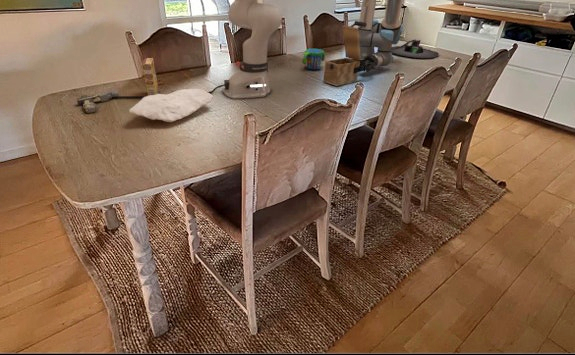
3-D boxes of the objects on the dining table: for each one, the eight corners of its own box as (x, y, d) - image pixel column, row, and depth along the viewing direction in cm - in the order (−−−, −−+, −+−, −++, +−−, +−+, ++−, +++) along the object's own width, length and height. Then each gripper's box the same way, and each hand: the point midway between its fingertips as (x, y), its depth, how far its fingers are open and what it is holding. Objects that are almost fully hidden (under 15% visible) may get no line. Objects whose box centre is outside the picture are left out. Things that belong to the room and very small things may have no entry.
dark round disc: (449, 54, 250) (452, 40, 246) (416, 60, 233) (418, 45, 228) (408, 47, 275) (410, 34, 270) (376, 52, 257) (377, 38, 253)
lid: (356, 29, 177) (368, 20, 180) (342, 26, 183) (354, 17, 186) (359, 60, 189) (370, 52, 192) (345, 56, 194) (356, 48, 198)
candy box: (157, 97, 164) (152, 63, 155) (147, 98, 163) (141, 63, 155) (158, 91, 171) (153, 57, 163) (149, 91, 170) (143, 58, 162)
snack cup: (318, 64, 219) (319, 47, 214) (329, 69, 212) (331, 51, 206) (297, 67, 212) (297, 49, 206) (307, 72, 204) (308, 54, 199)
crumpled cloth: (117, 110, 146) (113, 90, 140) (195, 92, 166) (194, 73, 160) (143, 139, 134) (140, 118, 128) (223, 116, 154) (224, 96, 148)
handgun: (128, 97, 156) (111, 87, 164) (86, 107, 144) (70, 97, 152) (129, 103, 157) (113, 94, 165) (88, 114, 146) (72, 103, 154)
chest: (336, 86, 185) (339, 65, 179) (323, 81, 190) (325, 61, 185) (356, 81, 195) (359, 61, 189) (343, 77, 200) (346, 57, 195)
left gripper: (357, -25, 164) (353, 9, 171) (383, -25, 176) (379, 6, 183) (346, -26, 168) (343, 7, 175) (373, -26, 180) (368, 4, 187)
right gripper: (387, 73, 200) (362, 80, 187) (356, 64, 214) (330, 70, 201) (390, 59, 196) (364, 66, 183) (358, 50, 210) (332, 56, 197)
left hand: (361, 6), depth 179 cm, fingers open, 5 cm apart
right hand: (347, 68), depth 192 cm, fingers closed on chest, 9 cm apart
